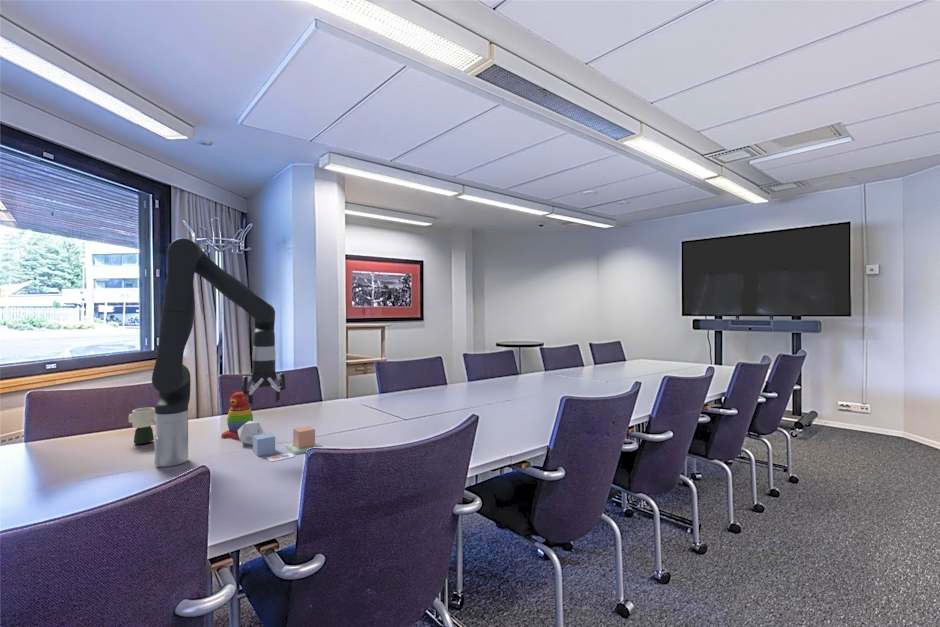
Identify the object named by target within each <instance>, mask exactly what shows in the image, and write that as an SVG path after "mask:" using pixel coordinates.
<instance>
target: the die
mask: <svg viewBox="0 0 940 627" xmlns="http://www.w3.org/2000/svg"><path fill="white" fill-rule="evenodd" d="M237 431H238V435H239V439H238V440H239V441H241V443H242V444H245V445H251V446H253V436H254V435H260V434H264V430H263V428H262V425H261V424H260V422H259V421H254V420H253V421H248V422H247V423H245V424H244V425H243V426H242V427H241V428H239V429H238V430H237Z"/></svg>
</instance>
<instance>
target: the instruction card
mask: <svg viewBox="0 0 940 627" xmlns="http://www.w3.org/2000/svg"><path fill="white" fill-rule="evenodd" d="M295 457H296V456H295V454H292V452H287V453H283V454H277V455H272V456H267V457H266V459H267V460H268V461H269V462H270V463H272V462H277V461H282V460H286V459H287V460H288V459H291V458H292V459H293V458H295Z"/></svg>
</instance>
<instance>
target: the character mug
mask: <svg viewBox="0 0 940 627" xmlns="http://www.w3.org/2000/svg"><path fill="white" fill-rule="evenodd" d="M128 423H129V424H130V423H131V424H132V425H131V426H132V428H134V429H135V428H136V429H135V431H134V436H133V443H134V444H136V445H142V444H149V443H151V442H152V441H155V435H154V430H153V426H155V407H150V406H149V407H140V408H135V409H133V410H132V413H129V414H128Z"/></svg>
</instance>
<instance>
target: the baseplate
mask: <svg viewBox="0 0 940 627" xmlns="http://www.w3.org/2000/svg"><path fill="white" fill-rule="evenodd" d="M313 447H322V448H323V445H321V444H320V443H318V442H317V441H315V445H314V446H309V447H304V448H297V447H296V446H295V445H293V443H289V444H285V448H286V449H288V450H289V451H290V453H293V455H298V454H302V453H307V452H306V451H307V449H309V448H313Z"/></svg>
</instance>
